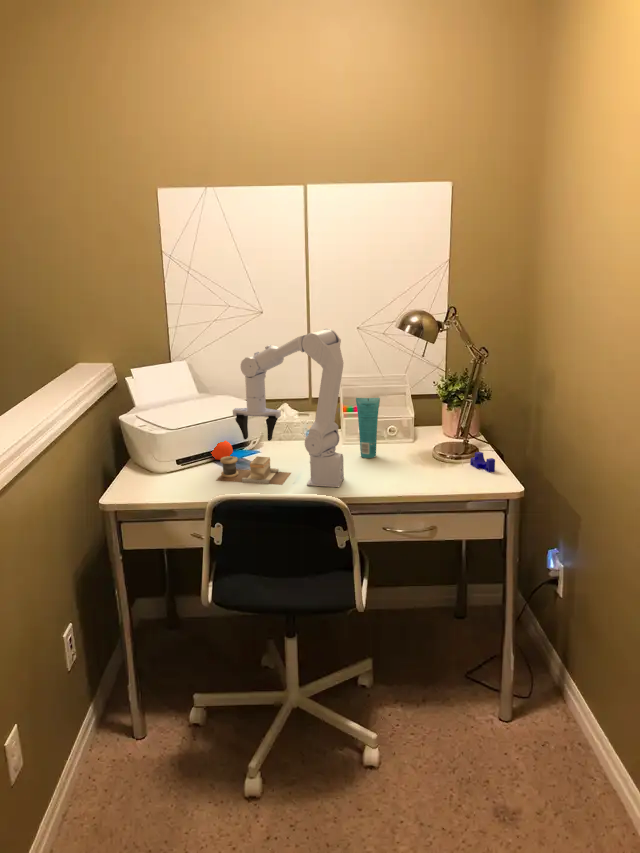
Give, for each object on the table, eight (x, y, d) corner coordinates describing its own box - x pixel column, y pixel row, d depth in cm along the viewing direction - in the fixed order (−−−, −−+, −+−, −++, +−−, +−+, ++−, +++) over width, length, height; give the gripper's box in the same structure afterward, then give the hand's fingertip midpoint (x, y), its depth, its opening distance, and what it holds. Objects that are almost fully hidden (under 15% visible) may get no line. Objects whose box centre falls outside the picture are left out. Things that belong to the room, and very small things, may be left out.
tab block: (270, 473, 217) (270, 457, 216) (264, 480, 211) (263, 464, 210) (257, 472, 218) (256, 456, 217) (250, 479, 212) (249, 463, 211)
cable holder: (470, 465, 225) (470, 453, 224) (480, 464, 226) (480, 451, 225) (484, 473, 218) (484, 461, 217) (494, 472, 219) (495, 459, 218)
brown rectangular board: (291, 477, 218) (291, 469, 217) (282, 489, 208) (282, 481, 208) (228, 473, 222) (227, 465, 222) (216, 485, 213) (215, 477, 212)
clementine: (214, 467, 228) (213, 445, 226) (204, 461, 233) (203, 440, 231) (237, 461, 232) (236, 440, 230) (226, 456, 238) (225, 435, 236)
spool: (240, 472, 218) (239, 456, 217) (235, 478, 214) (234, 462, 212) (224, 471, 220) (223, 455, 218) (218, 477, 215) (217, 461, 213)
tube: (379, 453, 237) (379, 395, 232) (380, 458, 233) (380, 399, 227) (356, 454, 237) (355, 396, 232) (356, 458, 232) (356, 400, 227)
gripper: (282, 393, 222) (284, 436, 226) (237, 391, 225) (239, 434, 229) (276, 399, 215) (278, 443, 219) (229, 397, 218) (231, 440, 222)
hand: (257, 439), depth 223 cm, fingers open, 7 cm apart
